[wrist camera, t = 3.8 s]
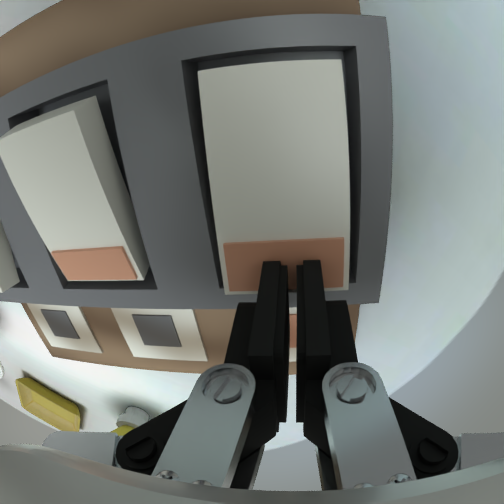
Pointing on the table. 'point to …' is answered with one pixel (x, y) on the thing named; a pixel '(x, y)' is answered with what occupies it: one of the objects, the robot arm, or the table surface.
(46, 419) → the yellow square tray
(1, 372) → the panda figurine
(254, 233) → the rocker
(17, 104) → the switch housing
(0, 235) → the rocker
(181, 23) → the board
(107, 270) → the rocker
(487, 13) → the table surface
